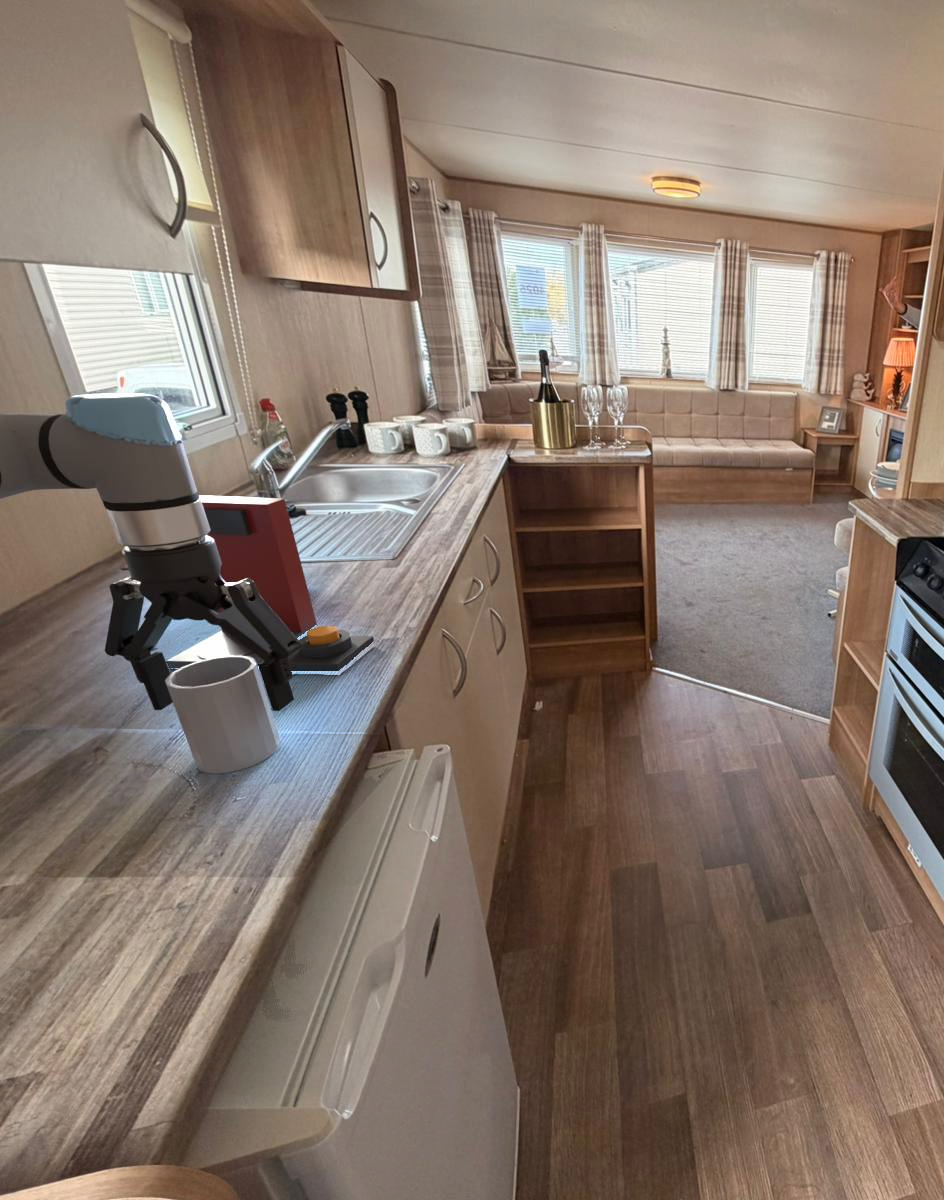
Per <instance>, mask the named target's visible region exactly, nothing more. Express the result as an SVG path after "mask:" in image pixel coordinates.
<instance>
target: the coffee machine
mask: <svg viewBox="0 0 944 1200" xmlns="http://www.w3.org/2000/svg"><path fill="white" fill-rule="evenodd" d="M199 497H200V499H201V502H202V505H203V508H204V511H205V514H206V517H207V520H208V524H209V527H210V532H209V533H208V534H207V535H208V536H210V537H211V538H213V539H214V541H215V544H216V547H217V550H218V553H219V556H220V559H221V562H222V564H221V568H220V575H221V577H222V579H223V580H224V581H225V582H226V583H234V582H240V581H242V580H244V579H246V578H249V579H252V580H253V581H254V583H255V585H256V587H257V589H258V592H259V594H260V596H261V597H262V598H263V600H264V601H265V602H266V603H267V604H268V605H269V606H270V608H271V609H272V610H273V611H274V612H275V613H276V615H277V616H278V617H279V618H280V619H281V620H282V621H283V623H284V624H285V625H286V626H287V627H288V628H289V630H290V631H291V632H292V633H293V634H294V635H295V636H296V638H298V637H299V636H301V635H302V634H304V633H305V632H306V631H308V630H310V629H311V628H312V627H314V626H315V625H317V626H318V624H317V619H316V615H315V611H314V608H313V604H312V600H311V597H310V593H309V588H308V584H307V580H306V577H305V572H304V569H303V565H302V561H301V557H300V554H299V550H298V546H297V542H296V538H295V534H294V530H293V527H292V522H291V519H290V515H289V510H288V507H287V503H286V500H285V498H277V497H254V496H253V497H251V496H231V495H230V496H228V495H205V494H204V495H203V494H202V495H201V494H199ZM227 597H229V596H228V595H227ZM224 610H225V609H224V608H222V607H221V608H220V610H219V611H218V612H217V613H220V612H222V611H224ZM220 629H221V630H220V631H218V632H216V633H214V634H213V635H211V636H209V637H207V638H205V639H203V640H201V641H200V642H197V643H196V644H194V645H192V646H191V647H188V648H187V649H185V650H183V651H181V652H180V653H177V654H176V655H174V656H172V657H170V658H168V659H167V660H165V661H166V663H167V666H168V669H169V668H181V667H184V666H186V665H189V664H192V663H195V662H198V661H202V660H206V659H210V658H215V657H222V656H230V655H235V656H247V657H251V658H254V660H255V661H256V663H257V666H258V664H259V663H260V662H262V661H263V659H262V658H260V657H259V656H258V655H256V654H255V653H254V652H252V651H251V650H250V649H249V648H247V647H246V646H245V645H243V644H242V643H241V642H239V641H238V640H237V639H235V638H234V637H233V636H232V635H230V634H229V633H228V632H226V631H225V630H224V629H222V628H221V627H220ZM269 650H270V651H271V650H272V649H270V648H269Z"/></svg>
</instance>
